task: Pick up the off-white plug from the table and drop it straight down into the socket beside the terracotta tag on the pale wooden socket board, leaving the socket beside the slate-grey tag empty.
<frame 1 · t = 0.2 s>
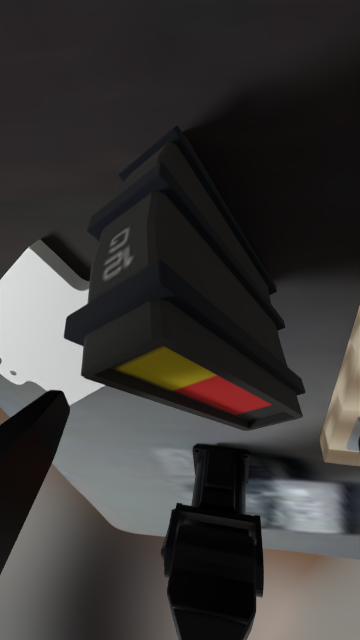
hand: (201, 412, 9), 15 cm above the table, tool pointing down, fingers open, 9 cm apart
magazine: (219, 235, 21), on the table
mounting plate: (63, 328, 29), on the table
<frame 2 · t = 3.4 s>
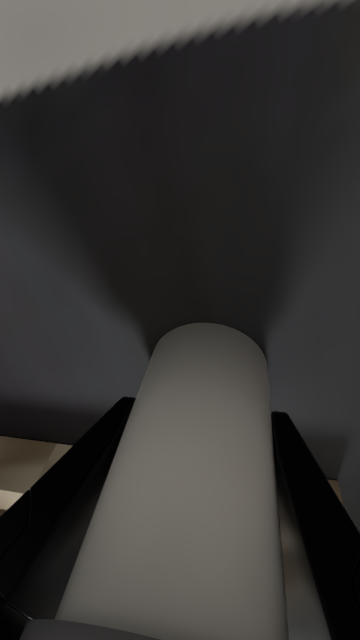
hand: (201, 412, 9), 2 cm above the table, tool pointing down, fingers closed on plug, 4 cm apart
plug: (208, 369, 11), on the table, touching gripper
socket board: (129, 514, 19), on the table
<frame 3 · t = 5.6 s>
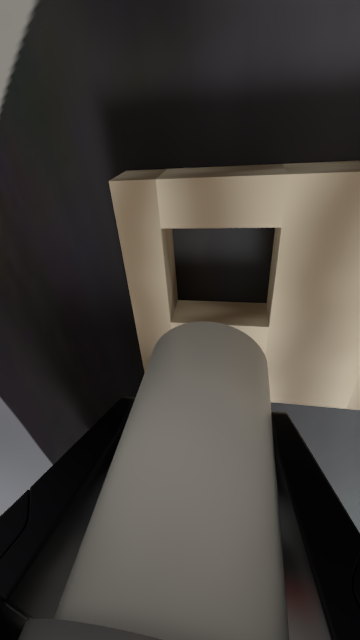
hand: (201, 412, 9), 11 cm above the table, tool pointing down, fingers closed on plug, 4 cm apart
plug: (207, 368, 11), point 9 cm above the table, touching gripper
socket board: (315, 293, 18), on the table
when the fingers open (5 cm above the table, at t = 7.9 s): plug drops 3 cm, resting in socket board.
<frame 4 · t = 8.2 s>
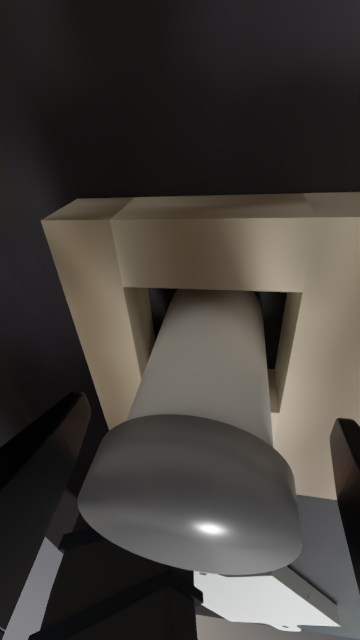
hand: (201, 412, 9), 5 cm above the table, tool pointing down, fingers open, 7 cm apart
plug: (214, 316, 13), resting in socket board
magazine: (147, 500, 25), on the table
socket board: (341, 360, 13), on the table
mounting plate: (247, 576, 33), on the table
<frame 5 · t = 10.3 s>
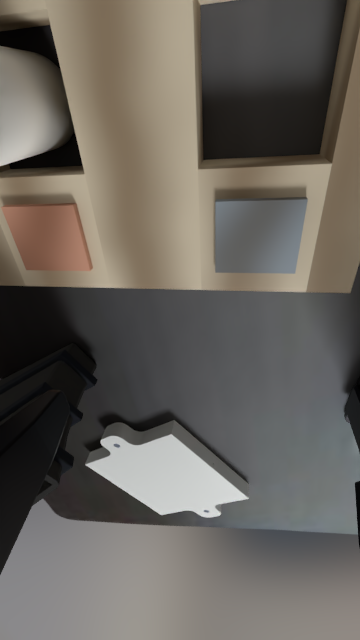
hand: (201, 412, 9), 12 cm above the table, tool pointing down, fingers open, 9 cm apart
plug: (38, 104, 15), resting in socket board
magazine: (55, 366, 28), on the table
socket board: (150, 144, 16), on the table
mounting plate: (169, 462, 35), on the table
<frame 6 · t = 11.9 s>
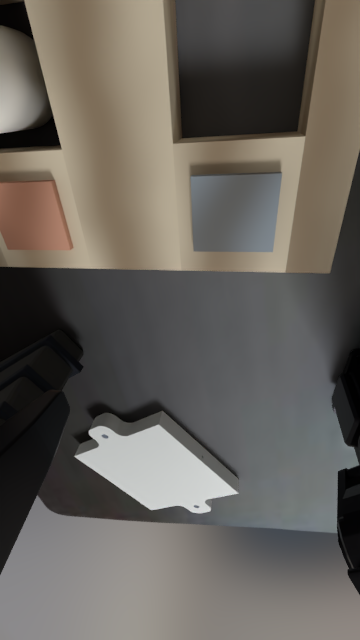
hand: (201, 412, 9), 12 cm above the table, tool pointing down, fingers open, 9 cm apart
plug: (19, 82, 15), resting in socket board
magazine: (44, 354, 28), on the table
socket board: (129, 123, 16), on the table
mounting plate: (158, 456, 35), on the table
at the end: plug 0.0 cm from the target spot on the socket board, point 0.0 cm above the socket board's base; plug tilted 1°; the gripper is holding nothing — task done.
